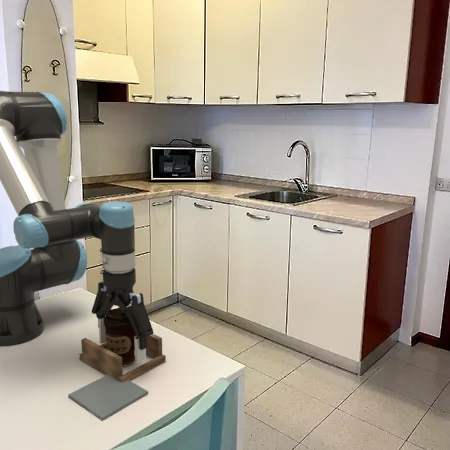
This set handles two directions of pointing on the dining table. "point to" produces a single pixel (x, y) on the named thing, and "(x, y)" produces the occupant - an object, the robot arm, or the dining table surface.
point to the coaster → (107, 396)
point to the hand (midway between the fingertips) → (122, 350)
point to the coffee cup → (120, 335)
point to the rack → (120, 358)
